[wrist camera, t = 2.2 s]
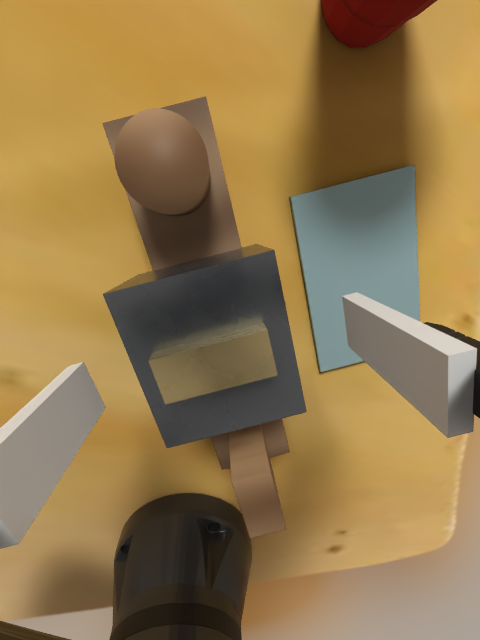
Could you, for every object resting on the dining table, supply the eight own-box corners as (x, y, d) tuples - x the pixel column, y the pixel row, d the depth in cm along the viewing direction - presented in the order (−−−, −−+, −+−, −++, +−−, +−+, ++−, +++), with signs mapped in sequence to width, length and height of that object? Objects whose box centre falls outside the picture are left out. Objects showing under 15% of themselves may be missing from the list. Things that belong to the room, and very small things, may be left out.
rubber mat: (417, 344, 27) (420, 346, 27) (319, 369, 27) (320, 372, 27) (410, 166, 22) (414, 164, 22) (289, 197, 22) (290, 196, 22)
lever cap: (282, 363, 21) (312, 423, 14) (180, 389, 21) (163, 462, 14) (256, 244, 18) (279, 251, 12) (138, 274, 18) (93, 299, 12)
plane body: (277, 415, 28) (312, 522, 18) (221, 430, 28) (223, 545, 18) (208, 128, 20) (199, 18, 10) (129, 148, 20) (36, 60, 10)
